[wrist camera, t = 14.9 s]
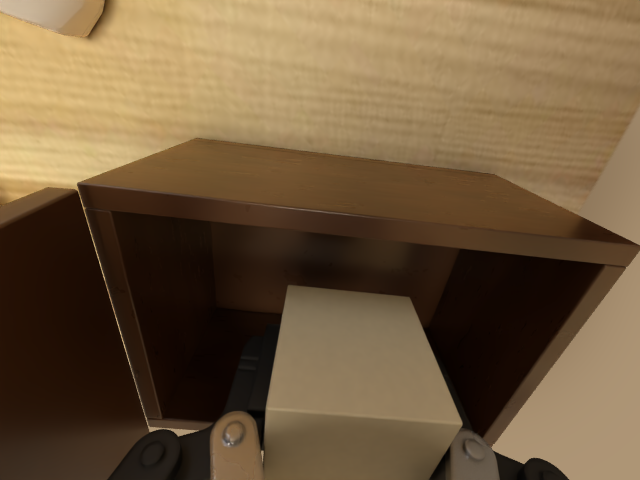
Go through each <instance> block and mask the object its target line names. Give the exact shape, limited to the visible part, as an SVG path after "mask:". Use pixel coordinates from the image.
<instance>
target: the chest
mask: <svg viewBox="0 0 640 480" xmlns="http://www.w3.org/2000/svg"><path fill="white" fill-rule="evenodd" d="M77 186H78V189H79V192H80V196H81V199H82V202H83V206H84V207H85V212H86V216H87V219H88V222H89V226H90V229H91V233H92V236H93V239H94V243H95V246H96V249H97V253H98V256H99V260H100V263H101V266H102V270H103V273H104V277H105V280H106V283H107V287H108V290H109V294H110V297H111V300H112V304H113V307H114V311H115V314H116V317H117V321H118V324H119V327H120V331H121V334H122V338H123V341H124V344H125V348H126V351H127V355H128V358H129V361H130V365H131V368H132V372H133V374H134V378H135V382H136V385H137V388H138V392H139V395H140V399H141V402H142V405H143V409H144V412H145V415H146V417H147V421H148V425H149V426H150V427H159V428H173V429H187V430H199V431H200V430H203V429H205V428H207V427H209V426H210V425H212V424H213V423H214V422H215V421H216V420H217V419H218V418H219V417H220V416H221V414H222V413H223V411H224V409H225V406H226V403H227V400H228V396H229V393H230V390H231V387H232V383H233V380H234V377H235V374H236V370H237V368H238V364H239V361H240V358H241V354H242V351H243V348H244V345H245V344H246V342H247V341H248V340H249V339H250V338H251V336H252V335H255V336H264V334H265V329H266V325H267V323H270V324H280V325H281V320H282V314H283V309H284V303H285V298H286V292H287V287H288V285H295V286H305V287H315V288H325V289H335V290H345V291H355V292H365V293H375V294H385V295H395V296H405V297H410V299H411V302H412V304H413V306H414V309H415V311H416V313H417V316H418V318H419V321H420V323H421V325H422V328H423V330H424V332H425V335H426V337H427V340H428V342H429V344H430V347H431V349H432V352H434V353H435V354H436V355H437V357H438V358H439V359H440V360H441V361H442V362H443V364H444V366H445V368H446V371H447V373H448V375H449V376H448V377H449V378H450V380H451V382H452V384H453V388H454V389H455V391H456V393H457V396H458V398H459V400H460V402H461V405H462V407H463V409H464V411H465V414H466V416H467V418H468V420H469V423H470V425H471V427H472V429H473V431H474V432H475V433H477V434H479V435H480V436H481V437H482V438H483V439H484V440H485V441H486V442H487V443H488V444H489V445H490V447H492V446H493V444H495V442H496V441H497V440H498V438H499V437H500V436H501V434H502V433H503V431H504V430H505V429H506V428H507V426H508V425H509V424H510V422H511V421H512V420H513V418H514V417H515V416H516V414H517V413H518V412H519V410H520V409H521V408H522V406H523V405H524V404H525V402H526V401H527V400H528V398H529V397H530V396H531V394H532V393H533V391H534V390H535V389H536V388H537V386H538V385H539V384H540V382H541V381H542V380H543V378H544V377H545V376H546V374H547V373H548V372H549V370H550V369H551V368H552V366H553V365H554V364H555V362H556V361H557V360H558V358H559V357H560V356H561V354H562V353H563V351H564V350H565V349H566V348H567V346H568V345H569V344H570V342H571V341H572V340H573V338H574V337H575V336H576V334H577V333H578V332H579V330H580V329H581V328H582V326H583V325H584V324H585V322H586V321H587V320H588V319H589V317H590V316H591V315H592V313H593V312H594V311H595V309H596V308H597V306H598V305H599V304H600V302H601V301H602V300H603V299H604V297H605V296H606V294H607V293H608V292H609V291H610V289H611V288H612V287H613V285H614V284H615V282H616V281H617V280H618V278H619V277H620V276H621V275H622V273H623V272H624V271H625V269H626V267H627V266H628V265H629V264H630V263H631V262H632V260H633V259H634V258H635V256H636V255H637V254H638V252H639V251H640V245H638V244H636V243H634V242H632V241H630V240H628V239H626V238H623V237H622V236H619V235H617V234H615V233H613V232H611V231H609V230H607V229H605V228H603V227H601V226H599V225H597V224H595V223H593V222H591V221H589V220H587V219H585V218H583V217H581V216H579V215H577V214H574V213H572V212H570V211H568V210H566V209H564V208H562V207H560V206H558V205H556V204H554V203H552V202H550V201H548V200H546V199H544V198H542V197H540V196H538V195H536V194H534V193H532V192H529V191H527V190H525V189H523V188H521V187H519V186H517V185H515V184H513V183H511V182H509V181H507V180H505V179H503V178H501V177H499V176H497V175H494V174H486V173H478V172H470V171H461V170H453V169H445V168H437V167H429V166H420V165H412V164H404V163H396V162H388V161H380V160H371V159H363V158H355V157H347V156H339V155H330V154H322V153H314V152H306V151H298V150H290V149H281V148H273V147H265V146H257V145H249V144H241V143H232V142H224V141H216V140H208V139H200V138H196V139H193V140H190V141H188V142H185V143H182V144H180V145H177V146H174V147H172V148H169V149H166V150H164V151H161V152H158V153H156V154H153V155H150V156H148V157H145V158H142V159H140V160H137V161H134V162H132V163H129V164H126V165H124V166H121V167H118V168H116V169H113V170H110V171H108V172H105V173H102V174H100V175H97V176H94V177H92V178H89V179H86V180H84V181H81V182H78V183H77Z"/></svg>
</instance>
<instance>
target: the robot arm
mask: <svg viewBox="0 0 640 480" xmlns="http://www.w3.org/2000/svg"><path fill="white" fill-rule="evenodd" d="M280 326H281V325H280V324H270V323H267V325H266V329H265V334H264V336H255V335H252V336H251V338H250V339H249V340H248V341H247V342H246V344H245V345H244V348H243V351H242V354H241V358H240V361H239V364H238V368H237V370H236V374H235V377H234V380H233V383H232V387H231V390H230V393H229V396H228V400H227V403H226V406H225V409H224V411H223V413H222V414H221V416H220V417H219V418H218V419H217V420H216V421H215V422H214V423H213V424H212V425H210V426H209V427H207V428H205V429H203V430H200V431H197V432H194V433H190V434H186V435H183V436H179V437H178V436H177V435H176V434H175V433H174V432H172V431H171V430H166V429H161V430H156V431H153V432H150V433H148V434H146V435H145V436H143V437H142V438H141V439H139V440H138V441H137V442H136V443H135V444H134V445H133V447H132V448H131V449H130V450H129V452H128V453H127V454H126V456H125V457H124V458H123V460H122V461H121V462H120V464H119V465H118V466H117V467H116V469H115V470H114V471H113V473H112V474H111V475H110V477H109V478H108V479H107V480H265V475H264V468H263V462H262V456H261V450H263V451H264V434H265V413H266V404H267V398H268V392H269V387H270V381H271V376H272V370H273V365H274V359H275V353H276V348H277V342H278V337H279V331H280ZM433 354H434V356H435V359H436V361H437V363H438V366H439V368H440V371H441V373H442V375H443V378H444V380H445V382H446V385H447V387H448V390H449V392H450V394H451V397H452V399H453V401H454V404H455V406H456V409H457V411H458V413H459V416H460V418H461V420H462V427H461V428H460V430H459V432H458V433H457V435H456V436H455V438H454V440H453V441H452V443H451V444H450V446H449V448H448V449H447V451H446V453H445V454H444V456H443V457H442V459H441V461H440V462H439V464H438V465H437V467H436V469H435V470H434V472H433V474H432V475H431V477H430V478H429V480H569V479H568V478H567V477H566V476H565V475H564V474H563V473H562V472H561V471H560V470H559V469H558V468H557V467H555V466H554V465H552V464H551V463H549V462H547V461H545V460H543V459H539V458H531V459H529V460H528V461H527V462H526V463H525V464H522V463H520V462H518V461H515V460H513V459H510V458H508V457H505V456H503V455H501V454H499V453H497V452H495V451H493V450H492V448H491V447H490V445H489V444H488V443H487V442H486V441H485V440H484V439H483V438H482V437H481V436H480V435H479V434H477V433H475V432H474V431H473V429H472V427H471V425H470V423H469V420H468V418H467V416H466V414H465V411H464V409H463V407H462V405H461V402H460V400H459V398H458V396H457V393H456V391H455V389H454V388H453V384H452V382H451V380H450V378H449V377H448V376H449V375H448V373H447V371H446V368H445V366H444V364H443V362H442V361H441V360H440V359H439V358H438V357H437V355H436V354H435V353H434V352H433Z"/></svg>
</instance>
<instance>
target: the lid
mask: <svg viewBox="0 0 640 480" xmlns="http://www.w3.org/2000/svg"><path fill="white" fill-rule="evenodd" d="M148 433H150V432H149V429H148V425H147V422H146V419H145V415H144V412H143V409H142V405H141V402H140V399H139V396H138V392H137V389H136V385H135V382H134V379H133V375H132V372H131V368H130V365H129V362H128V358H127V355H126V352H125V348H124V345H123V341H122V338H121V335H120V331H119V328H118V325H117V321H116V318H115V315H114V311H113V308H112V305H111V301H110V298H109V294H108V291H107V288H106V284H105V281H104V278H103V274H102V271H101V268H100V264H99V261H98V257H97V254H96V251H95V247H94V244H93V241H92V237H91V234H90V231H89V227H88V224H87V220H86V217H85V214H84V210H83V207H82V204H81V200H80V197H79V194H78V191H77V190H75V189H63V188H50V187H47V188H45V189H42V190H40V191H37V192H35V193H32V194H30V195H27V196H25V197H22V198H20V199H17V200H15V201H12V202H10V203H8V204H5V205H3V206H0V480H107V479H108V478H109V477H110V475H111V474H112V473H113V471H114V470H115V469H116V467H117V466H118V465H119V464H120V462H121V461H122V460H123V458H124V457H125V456H126V454H127V453H128V452H129V450H130V449H131V448H132V447H133V445H134V444H135V443H136V442H137V441H138V440H139V439H141V438H142V437H143V436H145V435H146V434H148Z"/></svg>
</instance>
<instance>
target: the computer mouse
mask: <svg viewBox="0 0 640 480" xmlns="http://www.w3.org/2000/svg"><path fill="white" fill-rule="evenodd" d="M104 3H105V0H0V12H2V13H4V14H7V15H9V16H12V17H14V18H17V19H19V20H22V21H25V22H28V23H30V24H33V25H36V26H39V27H42V28H44V29H47V30H50V31H53V32H57V33H60V34H63V35H68V36H76V37H84V36H87V35H89V33H90V31H91V30H92V28H93V27H94V25H95V24H96V22H97V20H98V19H99V17H100V16H101V14H102V13H103V8H104Z"/></svg>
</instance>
